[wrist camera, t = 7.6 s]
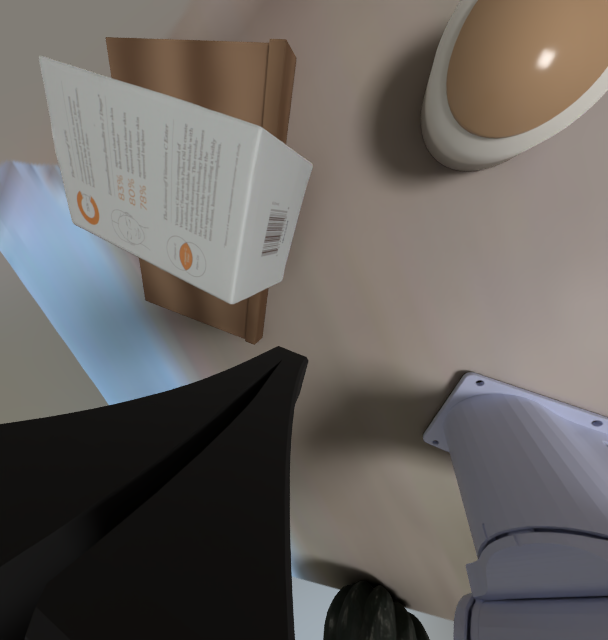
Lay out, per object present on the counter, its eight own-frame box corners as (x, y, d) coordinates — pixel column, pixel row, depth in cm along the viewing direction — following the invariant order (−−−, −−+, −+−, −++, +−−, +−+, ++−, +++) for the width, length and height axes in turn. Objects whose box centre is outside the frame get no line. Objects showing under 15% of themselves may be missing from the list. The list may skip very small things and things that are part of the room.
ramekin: (624, -2, 9) (746, -120, 6) (523, 180, 12) (570, 164, 9) (455, -1, 10) (483, -95, 7) (402, 162, 13) (406, 143, 10)
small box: (317, 164, 13) (156, 108, 16) (263, 123, 8) (30, 47, 10) (282, 283, 17) (158, 224, 20) (231, 309, 12) (67, 224, 14)
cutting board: (296, 57, 13) (286, 39, 12) (262, 337, 22) (254, 344, 21) (123, 49, 16) (100, 34, 15) (155, 297, 25) (142, 301, 24)
